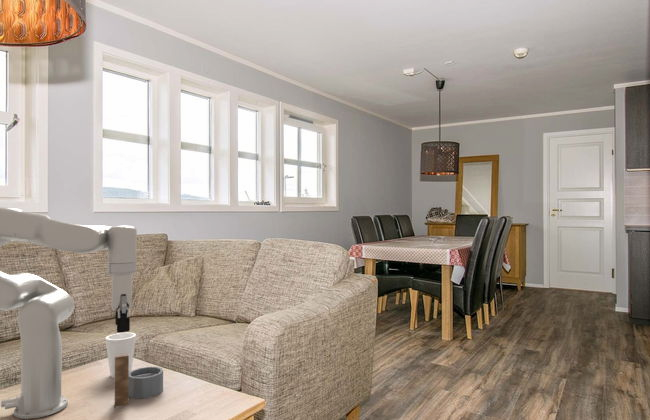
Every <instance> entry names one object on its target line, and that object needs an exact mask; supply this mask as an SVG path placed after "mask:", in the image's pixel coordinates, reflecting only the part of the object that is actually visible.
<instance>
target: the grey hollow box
mask: <svg viewBox="0 0 650 420" xmlns="http://www.w3.org/2000/svg"><path fill="white" fill-rule="evenodd" d="M156 374H157V373H156V372H155V373H149V374H143V375H136V376H133V377H149V376H153V375H156Z"/></svg>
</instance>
